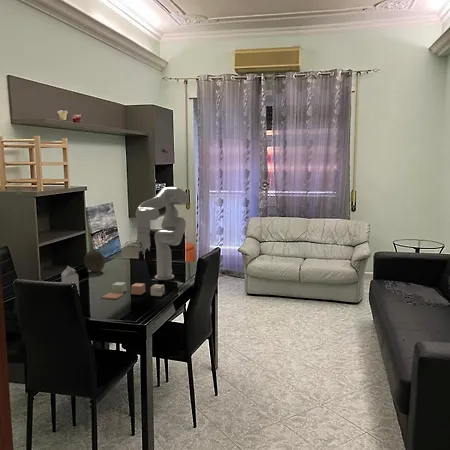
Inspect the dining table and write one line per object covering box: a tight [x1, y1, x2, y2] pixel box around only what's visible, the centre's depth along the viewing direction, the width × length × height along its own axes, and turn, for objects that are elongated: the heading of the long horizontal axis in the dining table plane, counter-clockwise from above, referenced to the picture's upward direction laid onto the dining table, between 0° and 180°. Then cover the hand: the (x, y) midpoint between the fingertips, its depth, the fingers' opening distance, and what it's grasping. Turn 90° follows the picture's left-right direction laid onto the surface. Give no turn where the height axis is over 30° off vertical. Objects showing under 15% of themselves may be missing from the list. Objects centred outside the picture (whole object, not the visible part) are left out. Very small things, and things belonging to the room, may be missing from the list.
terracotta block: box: [130, 282, 146, 296], centre depth 263 cm, size 6×6×5 cm
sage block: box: [111, 281, 127, 293], centre depth 266 cm, size 6×6×5 cm
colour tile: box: [101, 292, 125, 300], centre depth 257 cm, size 9×9×1 cm
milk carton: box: [60, 265, 80, 295], centre depth 248 cm, size 7×7×19 cm
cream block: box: [150, 283, 165, 297], centre depth 260 cm, size 6×6×5 cm
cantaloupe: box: [83, 250, 106, 273], centre depth 313 cm, size 14×14×15 cm
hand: (144, 258), depth 271 cm, fingers open, 7 cm apart
